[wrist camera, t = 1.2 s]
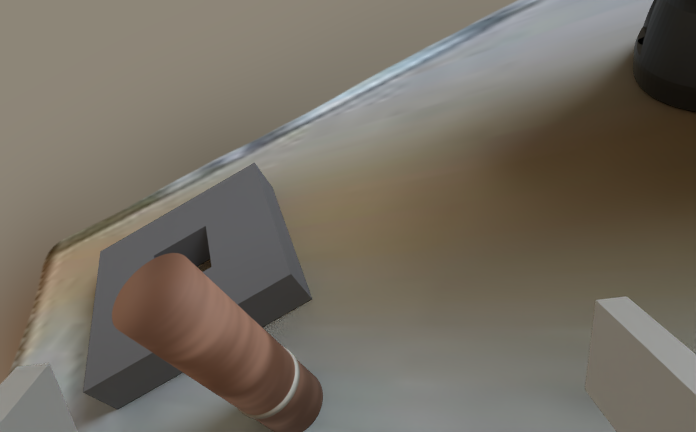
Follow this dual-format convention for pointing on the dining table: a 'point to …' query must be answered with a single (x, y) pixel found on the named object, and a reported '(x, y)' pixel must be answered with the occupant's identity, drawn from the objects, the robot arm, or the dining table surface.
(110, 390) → the board
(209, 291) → the peg
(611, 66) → the dining table surface
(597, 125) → the dining table surface
